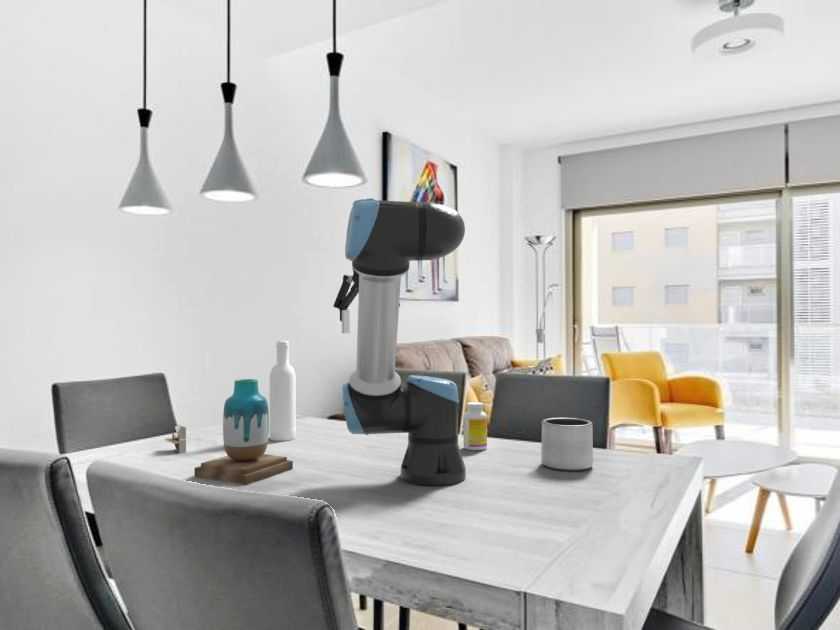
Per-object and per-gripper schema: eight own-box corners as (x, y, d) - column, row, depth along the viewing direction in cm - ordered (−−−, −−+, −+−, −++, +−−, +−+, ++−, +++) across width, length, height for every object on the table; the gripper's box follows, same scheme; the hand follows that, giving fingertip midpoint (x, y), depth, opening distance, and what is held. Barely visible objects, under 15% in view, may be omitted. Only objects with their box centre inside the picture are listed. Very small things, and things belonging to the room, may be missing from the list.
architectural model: (173, 456, 164) (173, 428, 164) (164, 451, 169) (164, 425, 169) (186, 454, 166) (186, 427, 166) (177, 450, 171) (177, 424, 171)
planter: (570, 458, 159) (570, 415, 159) (604, 468, 148) (603, 423, 148) (531, 463, 153) (531, 419, 154) (563, 474, 142) (562, 427, 142)
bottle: (287, 441, 180) (287, 341, 180) (264, 440, 182) (264, 341, 182) (300, 436, 188) (300, 340, 188) (277, 435, 190) (277, 340, 190)
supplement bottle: (491, 449, 170) (491, 403, 170) (473, 452, 166) (473, 405, 166) (476, 445, 175) (476, 401, 175) (458, 447, 171) (458, 402, 171)
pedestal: (292, 468, 148) (292, 456, 148) (245, 485, 133) (245, 471, 133) (243, 461, 155) (243, 450, 155) (194, 476, 141) (194, 463, 141)
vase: (255, 466, 138) (255, 382, 138) (213, 463, 140) (214, 381, 141) (276, 456, 148) (276, 378, 148) (237, 453, 151) (237, 377, 151)
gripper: (412, 255, 164) (412, 333, 164) (336, 260, 175) (336, 332, 175) (398, 253, 157) (398, 334, 157) (321, 257, 169) (321, 333, 169)
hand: (366, 333), depth 166 cm, fingers open, 13 cm apart
